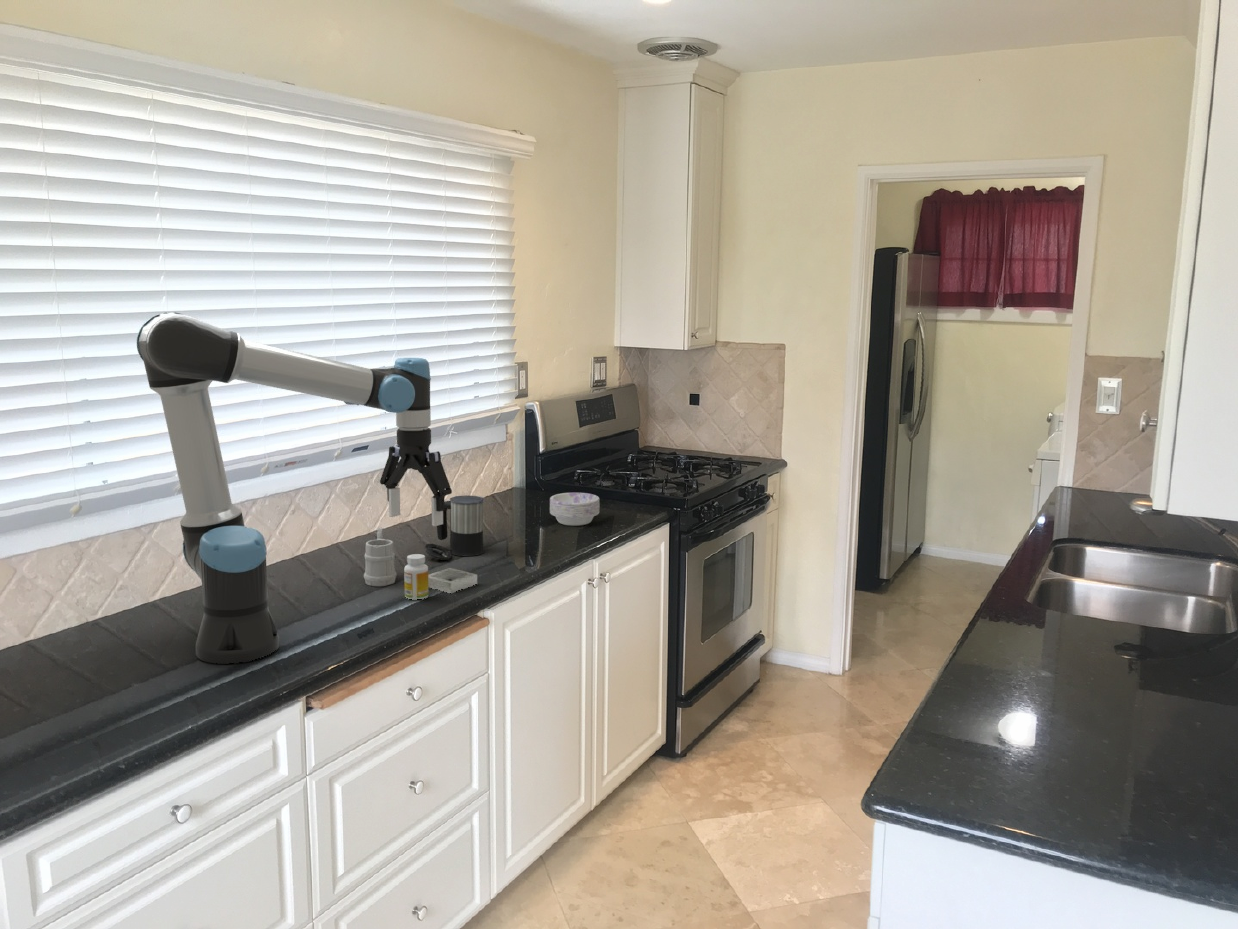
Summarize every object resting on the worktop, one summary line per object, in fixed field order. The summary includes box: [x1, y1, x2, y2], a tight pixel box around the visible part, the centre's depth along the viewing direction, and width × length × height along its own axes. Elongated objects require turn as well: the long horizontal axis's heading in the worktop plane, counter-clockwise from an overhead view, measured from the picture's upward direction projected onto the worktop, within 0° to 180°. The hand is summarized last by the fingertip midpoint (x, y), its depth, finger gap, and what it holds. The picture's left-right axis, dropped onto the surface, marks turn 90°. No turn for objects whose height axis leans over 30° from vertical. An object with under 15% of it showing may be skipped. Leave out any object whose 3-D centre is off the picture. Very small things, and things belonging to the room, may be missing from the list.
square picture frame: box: [428, 567, 478, 594], centre depth 230 cm, size 9×9×2 cm
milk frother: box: [424, 495, 485, 561], centre depth 255 cm, size 14×16×15 cm
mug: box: [363, 526, 397, 587], centre depth 232 cm, size 8×12×12 cm, turn 13°
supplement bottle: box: [403, 553, 430, 601], centre depth 220 cm, size 5×5×10 cm
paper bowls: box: [549, 492, 601, 527], centre depth 294 cm, size 15×15×8 cm
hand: (415, 520), depth 218 cm, fingers open, 13 cm apart
